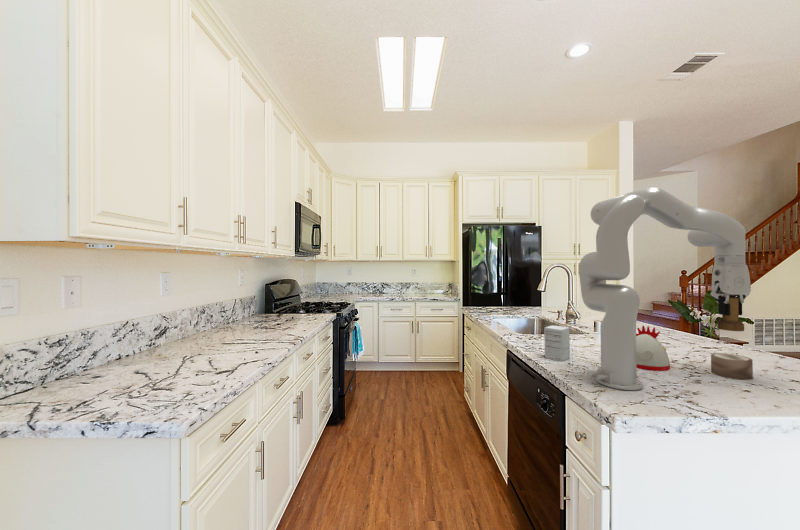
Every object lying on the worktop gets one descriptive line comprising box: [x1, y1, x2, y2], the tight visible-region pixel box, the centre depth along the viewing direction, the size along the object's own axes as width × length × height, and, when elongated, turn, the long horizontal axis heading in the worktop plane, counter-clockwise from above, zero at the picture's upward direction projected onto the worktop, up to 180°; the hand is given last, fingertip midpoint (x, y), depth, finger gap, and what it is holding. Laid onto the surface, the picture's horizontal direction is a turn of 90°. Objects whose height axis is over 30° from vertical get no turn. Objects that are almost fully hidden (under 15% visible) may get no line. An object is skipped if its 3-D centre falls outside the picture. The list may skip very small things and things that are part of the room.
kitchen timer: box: [636, 325, 671, 372], centre depth 124 cm, size 14×14×15 cm
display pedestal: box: [710, 352, 754, 381], centre depth 112 cm, size 10×10×6 cm
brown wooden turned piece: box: [716, 295, 745, 332], centre depth 112 cm, size 7×6×18 cm
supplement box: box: [543, 324, 571, 362], centre depth 134 cm, size 7×7×13 cm
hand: (730, 314), depth 112 cm, fingers closed on brown wooden turned piece, 3 cm apart
